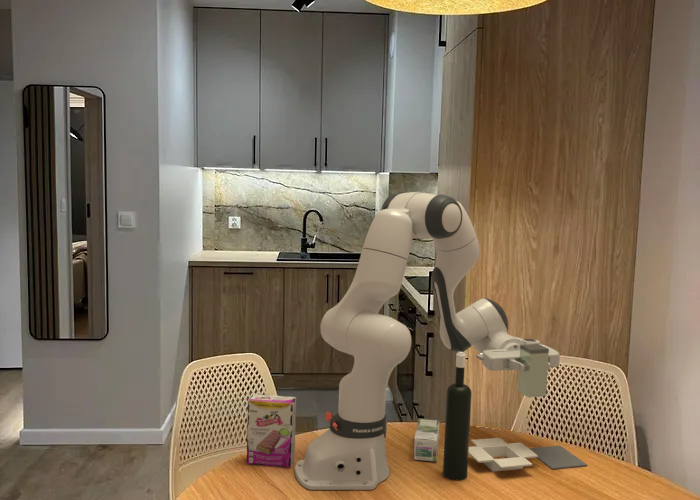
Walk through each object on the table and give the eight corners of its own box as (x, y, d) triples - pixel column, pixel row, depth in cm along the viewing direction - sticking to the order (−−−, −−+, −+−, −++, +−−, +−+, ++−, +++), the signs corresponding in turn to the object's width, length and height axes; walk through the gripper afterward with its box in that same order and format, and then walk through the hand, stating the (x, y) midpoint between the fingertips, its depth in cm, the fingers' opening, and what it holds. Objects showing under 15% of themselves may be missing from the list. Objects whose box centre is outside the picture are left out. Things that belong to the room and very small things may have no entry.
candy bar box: (245, 465, 156) (246, 399, 154) (251, 456, 161) (251, 393, 159) (291, 469, 155) (292, 402, 153) (295, 460, 160) (296, 395, 158)
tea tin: (528, 397, 159) (530, 350, 158) (517, 390, 164) (520, 344, 162) (546, 396, 160) (548, 349, 159) (535, 389, 165) (537, 343, 164)
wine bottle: (438, 471, 156) (444, 350, 153) (459, 468, 158) (465, 348, 155) (450, 481, 151) (456, 356, 147) (471, 478, 152) (478, 354, 149)
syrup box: (417, 438, 176) (413, 461, 161) (418, 417, 175) (414, 438, 161) (439, 440, 175) (436, 463, 160) (439, 419, 174) (437, 440, 160)
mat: (552, 469, 159) (552, 468, 159) (526, 449, 170) (526, 448, 170) (587, 466, 161) (587, 464, 161) (560, 446, 173) (560, 445, 173)
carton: (485, 480, 152) (485, 468, 151) (456, 452, 167) (457, 441, 167) (546, 474, 156) (547, 462, 156) (512, 447, 172) (513, 436, 171)
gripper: (473, 342, 170) (499, 357, 157) (542, 339, 175) (572, 353, 162) (472, 366, 171) (497, 382, 158) (541, 362, 176) (571, 377, 163)
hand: (536, 367), depth 160 cm, fingers closed on tea tin, 5 cm apart
